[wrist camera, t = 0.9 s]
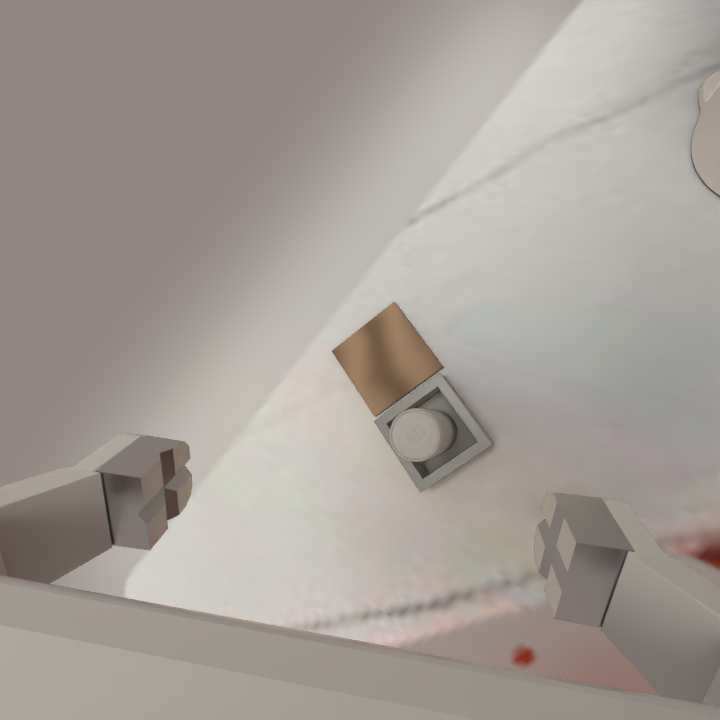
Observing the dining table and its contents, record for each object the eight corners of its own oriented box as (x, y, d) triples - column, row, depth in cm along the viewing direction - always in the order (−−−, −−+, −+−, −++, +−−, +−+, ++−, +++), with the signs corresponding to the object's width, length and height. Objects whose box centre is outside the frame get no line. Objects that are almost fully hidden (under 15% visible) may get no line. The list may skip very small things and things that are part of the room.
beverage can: (407, 428, 50) (377, 431, 38) (438, 401, 49) (416, 396, 38) (434, 461, 48) (411, 474, 37) (466, 434, 47) (453, 439, 36)
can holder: (445, 376, 49) (439, 373, 45) (493, 442, 46) (492, 444, 43) (383, 420, 51) (373, 421, 47) (427, 486, 48) (420, 492, 44)
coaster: (395, 302, 52) (394, 301, 52) (443, 367, 49) (442, 366, 49) (333, 351, 54) (331, 351, 54) (376, 416, 51) (374, 416, 51)
